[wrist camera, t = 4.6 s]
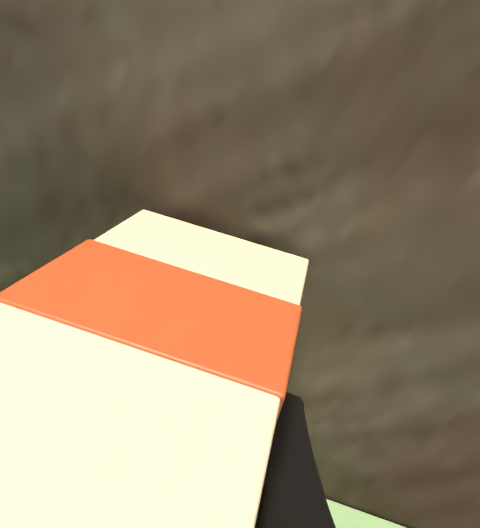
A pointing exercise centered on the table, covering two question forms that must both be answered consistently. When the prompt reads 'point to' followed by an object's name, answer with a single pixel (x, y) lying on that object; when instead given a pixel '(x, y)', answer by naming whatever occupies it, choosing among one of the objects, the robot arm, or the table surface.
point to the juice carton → (145, 379)
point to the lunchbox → (356, 518)
